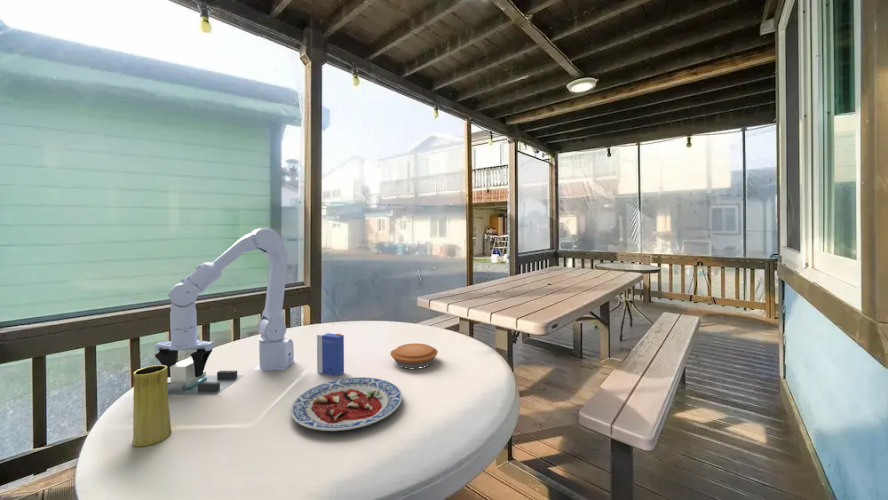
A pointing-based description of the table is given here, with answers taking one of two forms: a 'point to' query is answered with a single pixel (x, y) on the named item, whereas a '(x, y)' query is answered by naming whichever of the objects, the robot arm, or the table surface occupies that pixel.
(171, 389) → the port
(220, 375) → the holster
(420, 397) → the table surface
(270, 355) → the robot arm
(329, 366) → the walkman
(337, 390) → the ceramic plate
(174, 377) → the plug
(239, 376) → the panel
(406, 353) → the pie
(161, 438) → the vase
